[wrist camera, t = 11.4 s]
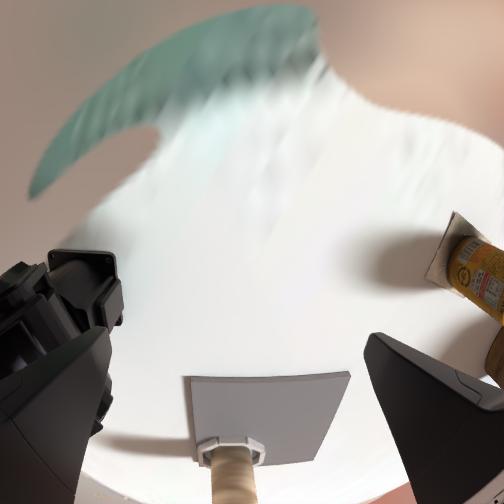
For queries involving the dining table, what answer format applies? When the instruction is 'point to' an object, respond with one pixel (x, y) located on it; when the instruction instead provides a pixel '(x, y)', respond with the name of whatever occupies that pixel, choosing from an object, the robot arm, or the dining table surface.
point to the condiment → (470, 267)
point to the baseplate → (266, 415)
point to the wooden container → (496, 360)
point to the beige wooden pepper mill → (232, 476)
